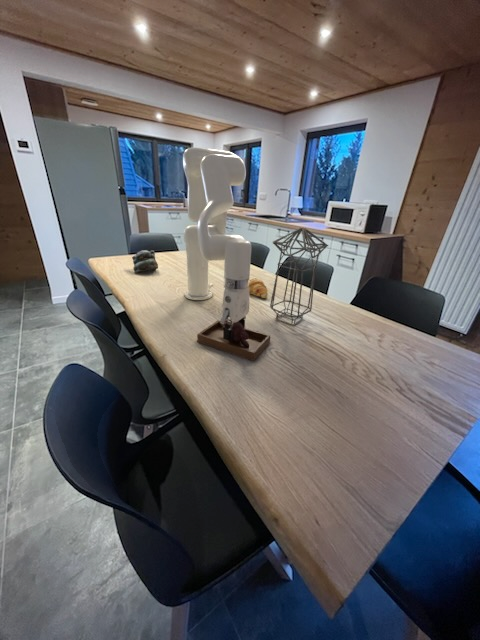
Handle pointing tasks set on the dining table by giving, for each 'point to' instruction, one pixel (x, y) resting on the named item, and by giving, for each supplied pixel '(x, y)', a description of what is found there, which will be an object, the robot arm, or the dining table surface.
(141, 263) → the grey lumpy block
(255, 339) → the tray
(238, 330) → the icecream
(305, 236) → the geometric lantern
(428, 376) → the dining table surface
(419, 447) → the dining table surface
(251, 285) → the croissant
